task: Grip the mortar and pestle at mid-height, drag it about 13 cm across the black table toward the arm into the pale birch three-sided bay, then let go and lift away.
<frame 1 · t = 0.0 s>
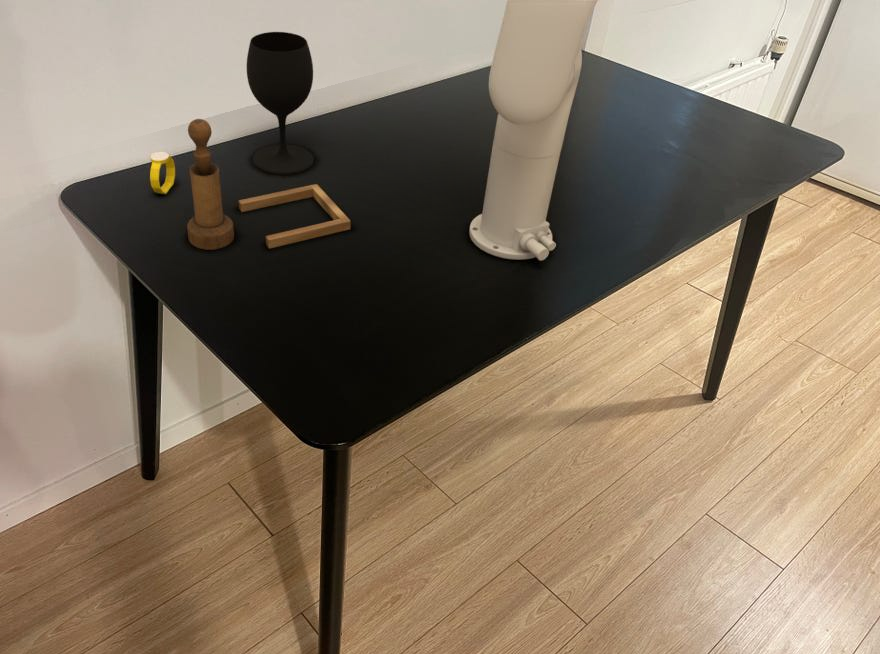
watch: (165, 191, 123), on the table
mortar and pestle: (211, 238, 114), on the table
bay: (290, 219, 119), on the table
wine glass: (283, 161, 133), on the table
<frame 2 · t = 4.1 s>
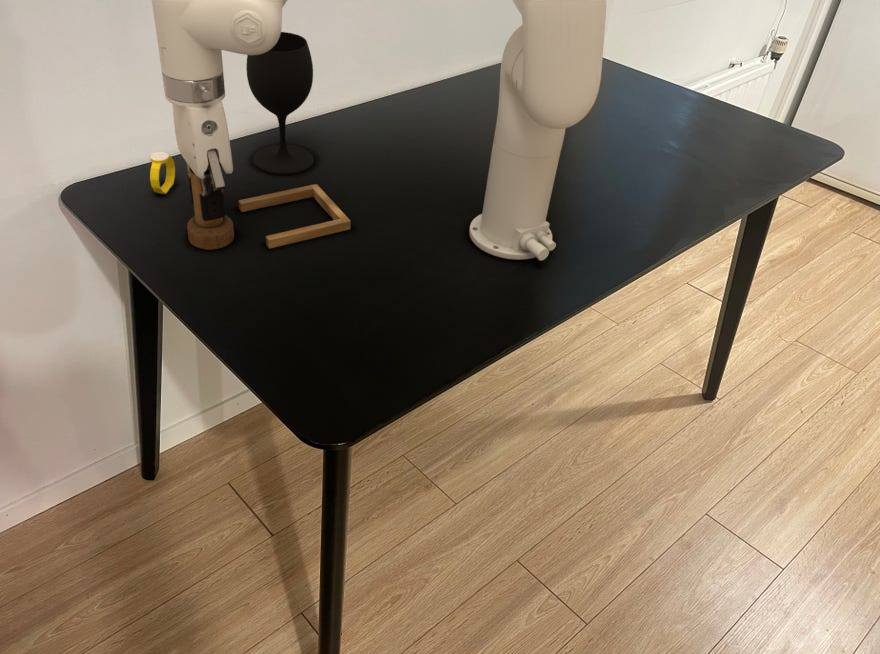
hand: (208, 209, 111), 5 cm above the table, tool pointing down, fingers closed on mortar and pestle, 3 cm apart
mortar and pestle: (211, 238, 114), on the table, touching gripper
everything else where it was.
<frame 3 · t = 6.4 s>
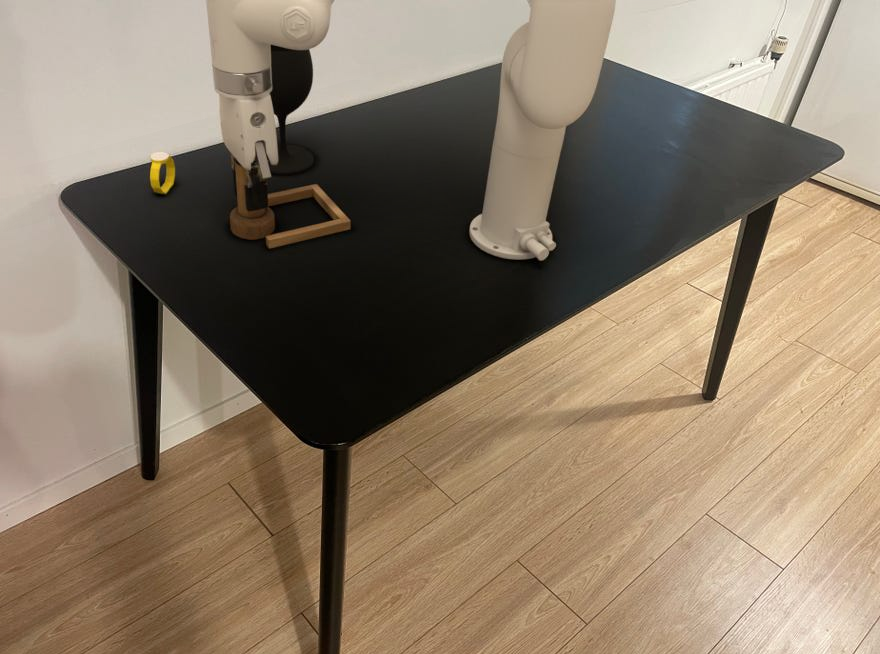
hand: (251, 199, 113), 5 cm above the table, tool pointing down, fingers closed on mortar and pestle, 3 cm apart
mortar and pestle: (253, 229, 117), on the table, touching gripper
everything else where it was.
when the fingers open (5 cm above the table, at t = 8.6 s): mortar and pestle stays where it is, resting in bay.
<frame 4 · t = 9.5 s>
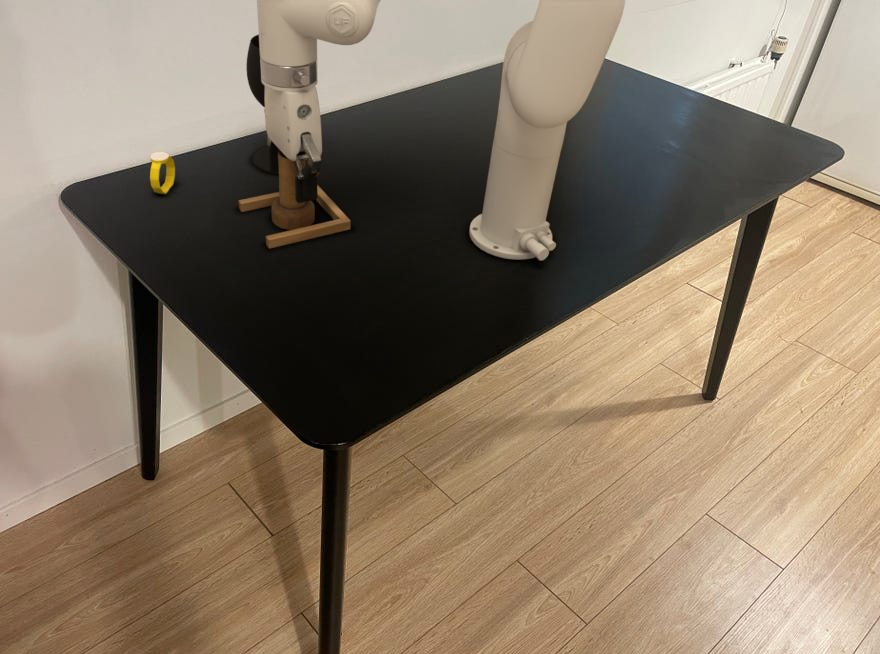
hand: (292, 185, 115), 6 cm above the table, tool pointing down, fingers open, 9 cm apart
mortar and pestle: (293, 220, 119), resting in bay
everything else where it was.
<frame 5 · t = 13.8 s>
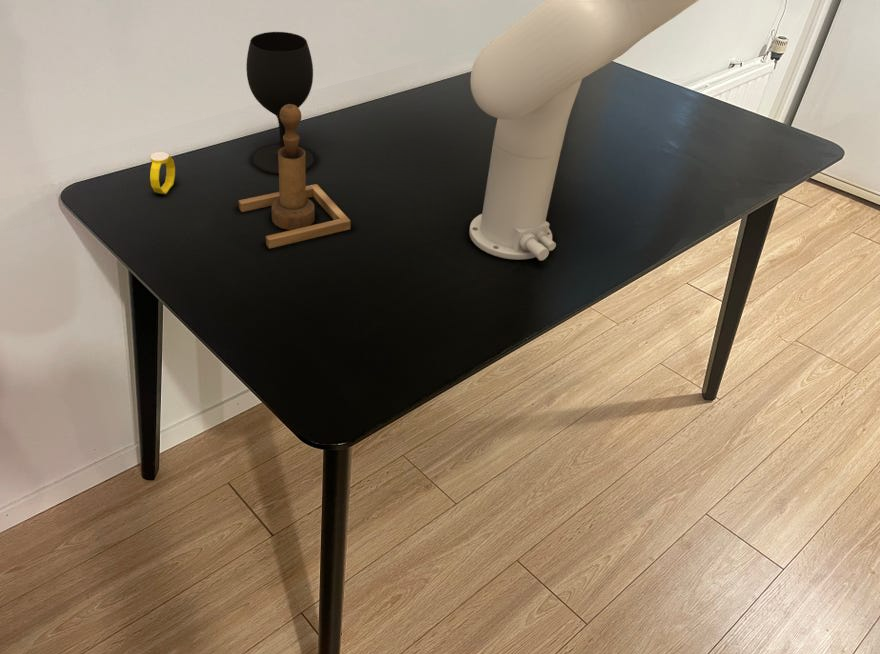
nothing on the table moved.
at the end: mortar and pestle 0.4 cm off-centre on the bay, point 0.0 cm above the bay's base; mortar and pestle tilted 0°; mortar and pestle moved 13.0 cm from its start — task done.
